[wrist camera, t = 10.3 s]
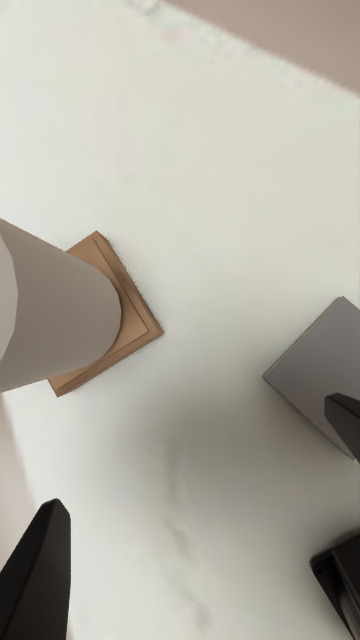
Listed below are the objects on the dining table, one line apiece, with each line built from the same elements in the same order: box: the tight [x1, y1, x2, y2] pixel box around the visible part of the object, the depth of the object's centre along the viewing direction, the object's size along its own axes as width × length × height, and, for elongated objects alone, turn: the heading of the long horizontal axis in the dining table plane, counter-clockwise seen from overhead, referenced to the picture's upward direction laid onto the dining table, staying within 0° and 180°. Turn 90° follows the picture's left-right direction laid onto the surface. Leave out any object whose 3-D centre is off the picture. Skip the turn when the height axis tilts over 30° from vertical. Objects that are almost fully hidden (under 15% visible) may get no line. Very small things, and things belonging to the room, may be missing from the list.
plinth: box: [47, 230, 164, 398], centre depth 20 cm, size 9×9×2 cm
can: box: [0, 218, 121, 393], centre depth 13 cm, size 8×8×12 cm
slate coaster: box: [262, 296, 360, 460], centre depth 19 cm, size 8×8×1 cm
